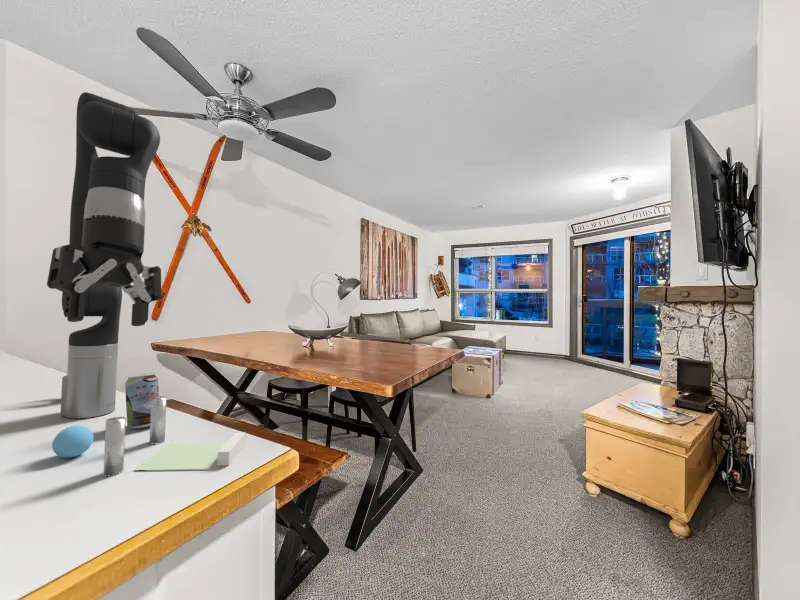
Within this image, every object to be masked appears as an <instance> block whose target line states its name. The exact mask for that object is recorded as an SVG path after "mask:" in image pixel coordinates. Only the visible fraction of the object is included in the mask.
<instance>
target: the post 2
mask: <svg viewBox="0 0 800 600" xmlns="http://www.w3.org/2000/svg"><path fill="white" fill-rule="evenodd" d="M167 398H168V397H167V396H163V395H162V396H161V395H159V397H154V398H152V399H151V418H150V426H149V442H150V443H154V444H153V445H156V444H155V443H159V444H162V443H164V442H165V441H166V424H167V423H166V422H167V420H166V419H167V418H166V417H167V400H168V399H167ZM163 441H164V442H163ZM161 442H162V443H161ZM150 443H149V444H150Z"/></svg>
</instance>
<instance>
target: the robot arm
mask: <svg viewBox="0 0 800 600" xmlns="http://www.w3.org/2000/svg"><path fill="white" fill-rule="evenodd" d="M75 117H76V121H75V123H76V127H75V128H76V129H75V130H76V132H75V133H76V134H75V135H76V136H75V138H76V141H75V142H76V143H75V145H76V146H75V147H76V148H75V171H74V178H73V186H72V194H71V202H70V203H71V204H70V217H69V244H65V245H62V246H58V247H56V248H54V249H53V250H52V254H51V259H50V264H49V270H48V276H47V281H46V286H47V287H48V288H49V289H52V290H58V291H60V292H61V293H62V294H61V308H62V311H63V315H64V318H67V321H68V323H70V322H71V323H77V322H81V321H83V320H84V318H85V317H101V320H100V321H99V322H97V323H95V324H94V325H92V326H89V327H87V328H83V329H79V330H75V331H73V332H71V333H70V334H69V336H68V348H67V349H68V351H67V369H66V370H67V371H66V375H64V376H62V377H61V395H60V397H61V399H60V415H59V416H60V417H66V418H69V419H87V418H93V417H94V418H95V417H99V416H103V415H104V416H105V415H107V414H110V413H112V412H114V411H115V410H116V399H117V398H116V393H117V378H118V377H117V375H118V373H117V372H118V357H119V356H118V354H119V352H118V350H119V332H120V319H121V318H120V317H121V310H122V301H123V292H124V293H125V294H128V296H129V297H130V299H131V300H132V301H133V303H132V306H131V320H130V321H131V322H130V323H131V326H132V327H142V326H145V325H146V323H147V322H148V320H149V309H150V307H149V305H150V303H152V302H155V301H160V300H161V299H162V297H163V296H162V295H163V294H162V268H161V267H160V266H158V265H155V266H146V265H144V264H143V262H142V257H143V254H144V251H145V250H144V249H145V233H146V232H145V230H146V209H145V190H146V189H145V188H146V179H147V175H148V171H149V168H150V166H151V164H152V161H153V159H154V157H155V155H156V154H157V151H158V150H159V148H160V142H161V135H160V131H159V130H158V127H157V126H156V125H155V123H154V122H153V121H152V120H150V119H148V118H146V117H143V116H141V115H139V113H138V112H137V111H136V110H135V109H133V108H131V107H130V106H128V105H125V104H122V103H119V102H116V101H115V100H112V99H108V98H104V97H102V96H100V95H97V94H94V93H91V92H81V94H80V95H79V97H78V101H77V105H76V116H75ZM96 148H98V149H102V150H105V151H109V152H113V153H116V154H118V155H123V156H125V157H123V156H109V155H108V156H106V155H105V156H99V154H98V152H97V149H96ZM141 274H142V275H141ZM140 275H141V276H140ZM132 284H133V285H132Z"/></svg>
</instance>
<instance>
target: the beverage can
mask: <svg viewBox="0 0 800 600" xmlns="http://www.w3.org/2000/svg"><path fill="white" fill-rule="evenodd" d="M158 378H159V377H157V376H156V374H155V373H154V372H149V373H142V374H135V375H130V376H128V377H127V379H126V381H125V383H124V388H125V389H124V391H125V407H126V409H125V410H126V426H127V427H130V428H131V429H142V428H146V427H150V418H151V399H152V398H154V397H159V396H160V393H159V392H160V391H159V379H158Z"/></svg>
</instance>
